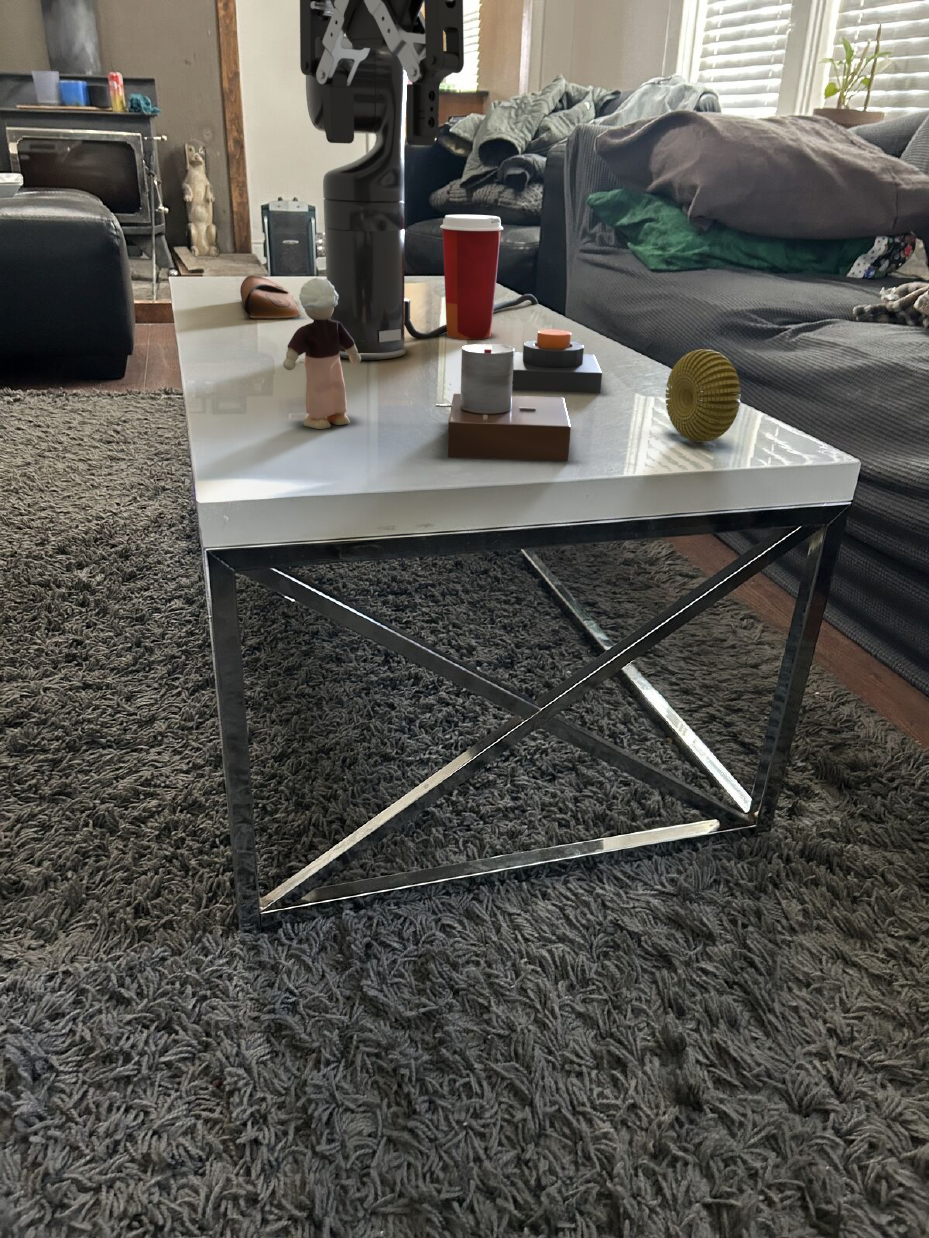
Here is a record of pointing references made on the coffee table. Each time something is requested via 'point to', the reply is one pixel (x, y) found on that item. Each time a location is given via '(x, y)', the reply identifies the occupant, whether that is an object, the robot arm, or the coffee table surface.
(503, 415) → the panel
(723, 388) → the sculpture
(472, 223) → the coffee cup
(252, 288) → the sunglasses case
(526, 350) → the button box
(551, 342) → the button
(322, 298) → the grandmother figurine
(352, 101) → the robot arm
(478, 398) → the lock knob
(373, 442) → the coffee table surface
